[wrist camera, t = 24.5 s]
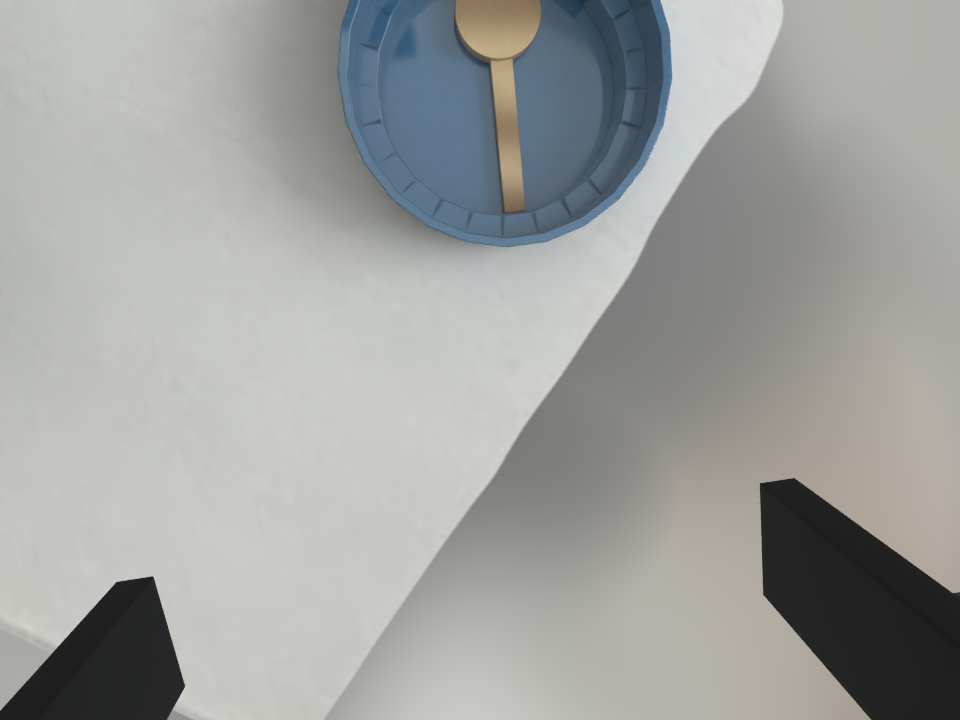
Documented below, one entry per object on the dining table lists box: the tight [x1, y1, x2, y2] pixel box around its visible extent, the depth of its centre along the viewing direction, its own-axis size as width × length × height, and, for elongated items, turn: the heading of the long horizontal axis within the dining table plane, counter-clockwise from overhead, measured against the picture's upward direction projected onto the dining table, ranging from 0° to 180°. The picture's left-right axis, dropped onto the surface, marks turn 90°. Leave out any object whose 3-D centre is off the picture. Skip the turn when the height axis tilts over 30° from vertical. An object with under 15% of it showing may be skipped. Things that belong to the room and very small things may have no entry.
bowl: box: [338, 0, 672, 247], centre depth 42 cm, size 21×21×7 cm
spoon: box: [454, 0, 541, 213], centre depth 44 cm, size 16×6×2 cm, turn 6°
